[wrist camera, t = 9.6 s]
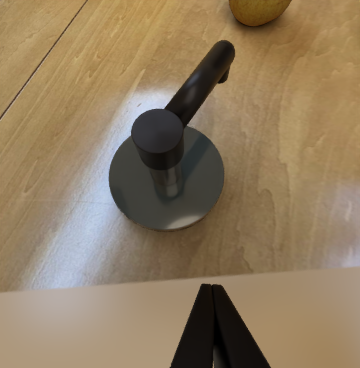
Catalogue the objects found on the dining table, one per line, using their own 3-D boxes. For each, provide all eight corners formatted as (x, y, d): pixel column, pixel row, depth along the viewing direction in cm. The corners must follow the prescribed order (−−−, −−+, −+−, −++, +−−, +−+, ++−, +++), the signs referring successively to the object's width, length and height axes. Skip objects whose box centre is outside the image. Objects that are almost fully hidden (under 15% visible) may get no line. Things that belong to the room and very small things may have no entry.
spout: (168, 182, 18) (164, 162, 15) (132, 160, 19) (120, 137, 16) (240, 77, 22) (250, 42, 19) (207, 62, 23) (211, 26, 19)
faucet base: (232, 222, 22) (247, 209, 17) (115, 239, 22) (92, 232, 17) (210, 124, 26) (217, 88, 21) (111, 137, 26) (92, 105, 21)
